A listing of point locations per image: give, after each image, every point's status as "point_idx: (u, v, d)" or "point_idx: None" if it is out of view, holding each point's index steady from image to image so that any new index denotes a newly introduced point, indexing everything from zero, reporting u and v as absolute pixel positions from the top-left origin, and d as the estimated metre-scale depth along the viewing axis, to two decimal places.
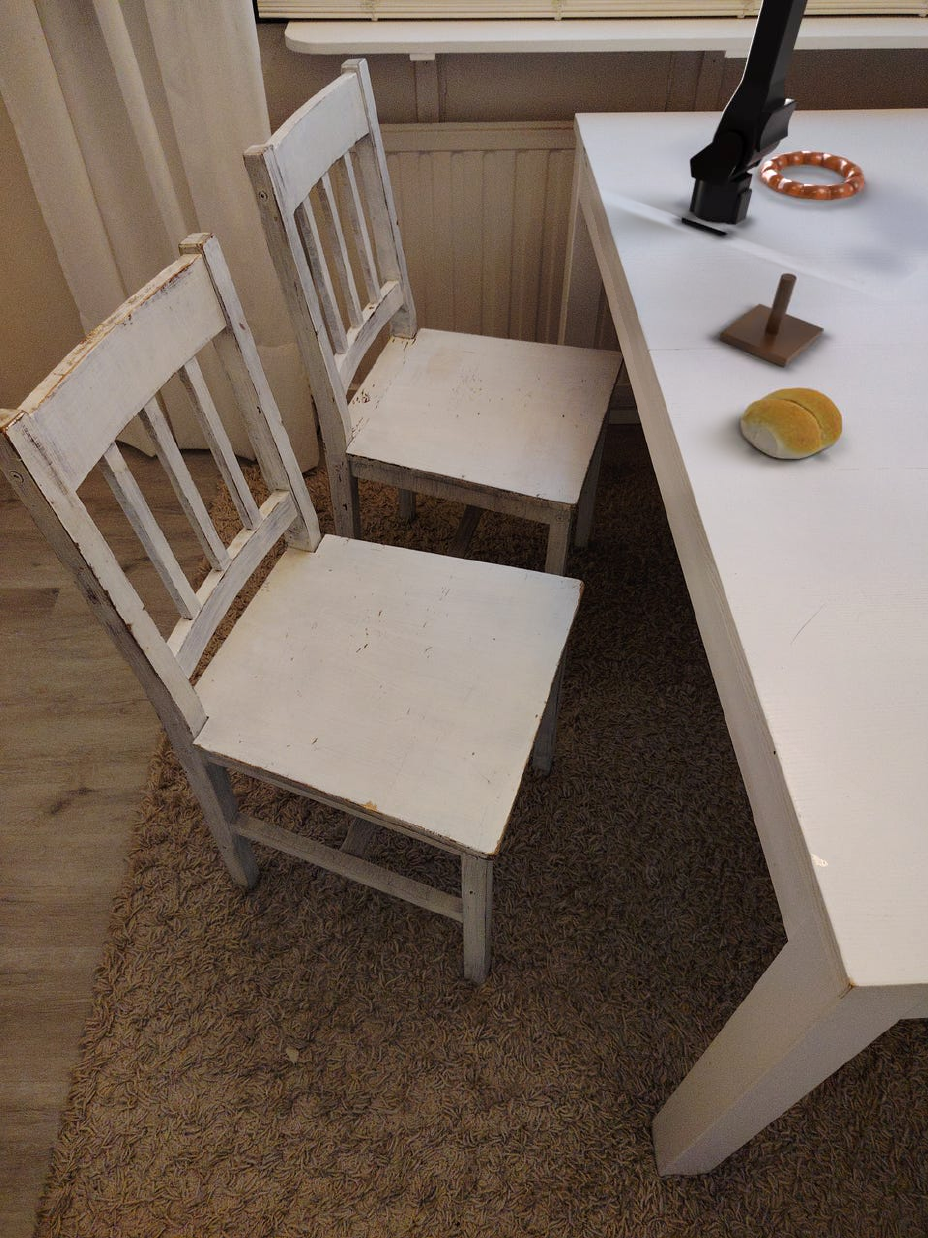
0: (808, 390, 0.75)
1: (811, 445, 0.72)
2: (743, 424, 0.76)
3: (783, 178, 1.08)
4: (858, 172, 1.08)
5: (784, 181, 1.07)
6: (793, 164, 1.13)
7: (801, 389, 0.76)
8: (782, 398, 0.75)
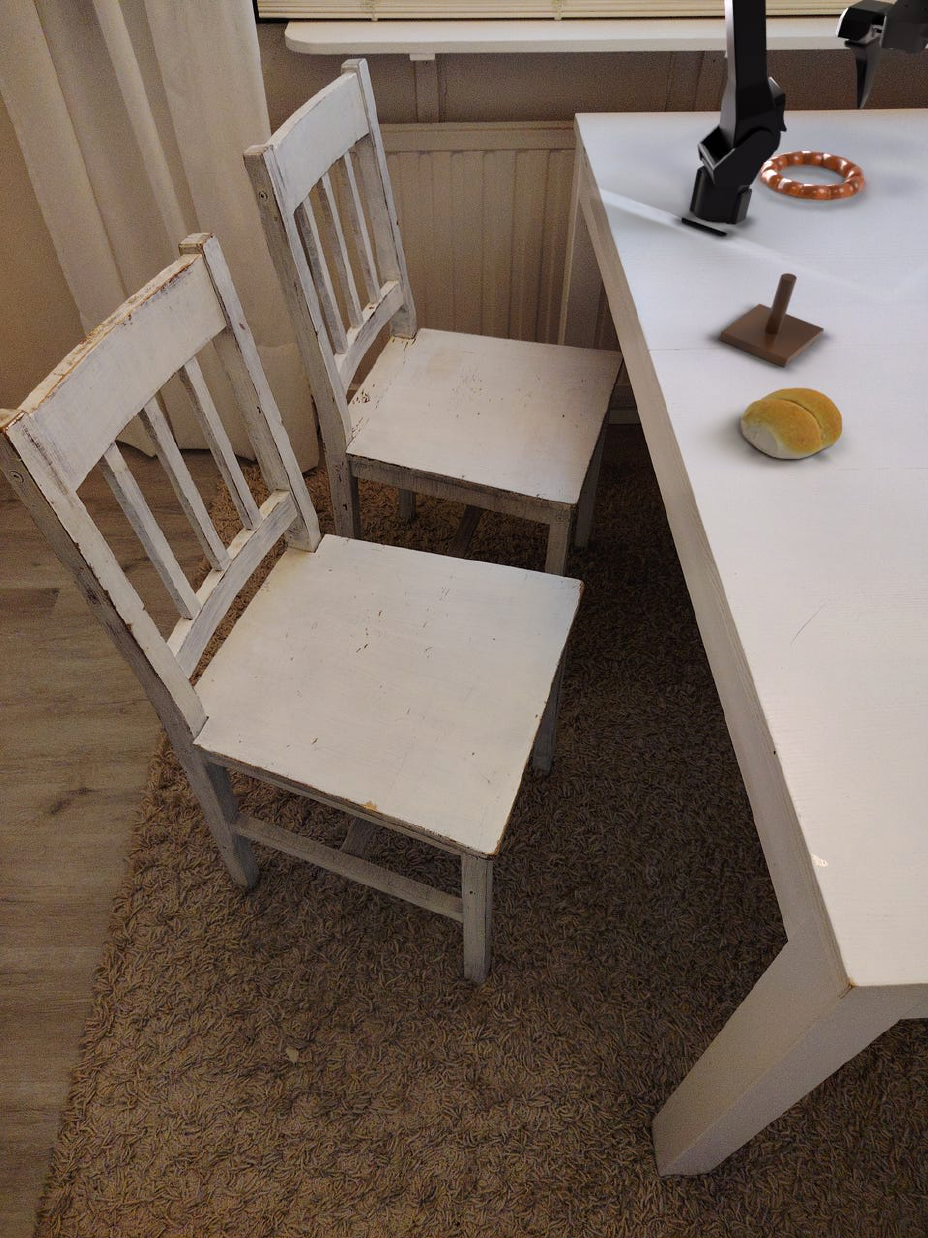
0: (808, 390, 0.75)
1: (811, 445, 0.72)
2: (743, 424, 0.76)
3: (783, 178, 1.08)
4: (858, 172, 1.08)
5: (784, 181, 1.07)
6: (793, 164, 1.13)
7: (801, 389, 0.76)
8: (782, 398, 0.75)
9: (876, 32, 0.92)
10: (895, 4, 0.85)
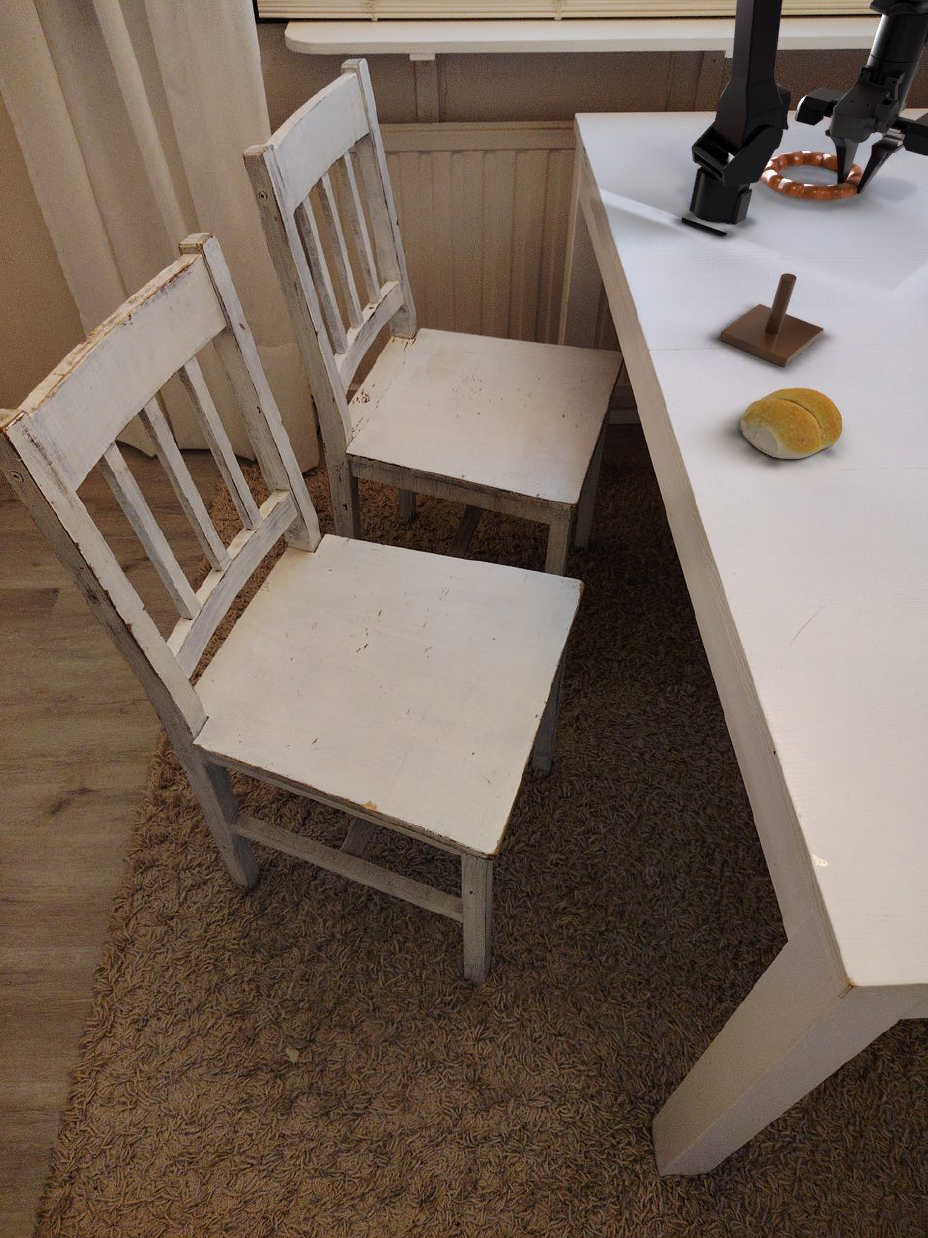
0: (808, 390, 0.75)
1: (811, 445, 0.72)
2: (743, 424, 0.76)
3: (783, 178, 1.08)
4: (858, 172, 1.08)
5: (784, 181, 1.07)
6: (793, 164, 1.13)
7: (801, 389, 0.76)
8: (782, 398, 0.75)
9: None
10: (842, 99, 0.97)
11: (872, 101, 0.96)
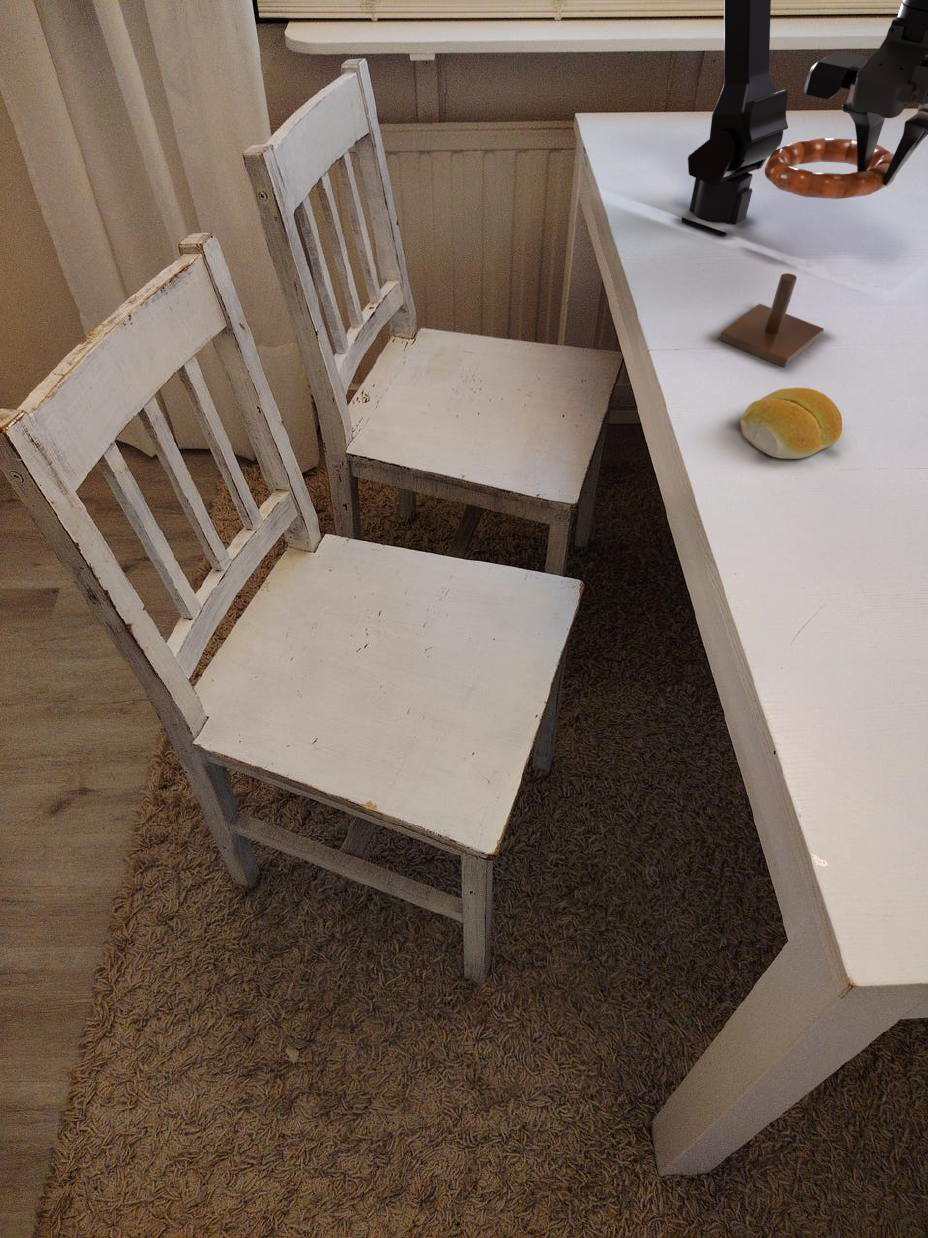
0: (808, 390, 0.75)
1: (811, 445, 0.72)
2: (743, 424, 0.76)
3: (788, 166, 0.88)
4: (888, 159, 0.87)
5: (789, 169, 0.87)
6: (812, 153, 0.93)
7: (801, 389, 0.76)
8: (782, 398, 0.75)
9: None
10: (868, 62, 0.75)
11: (907, 63, 0.74)
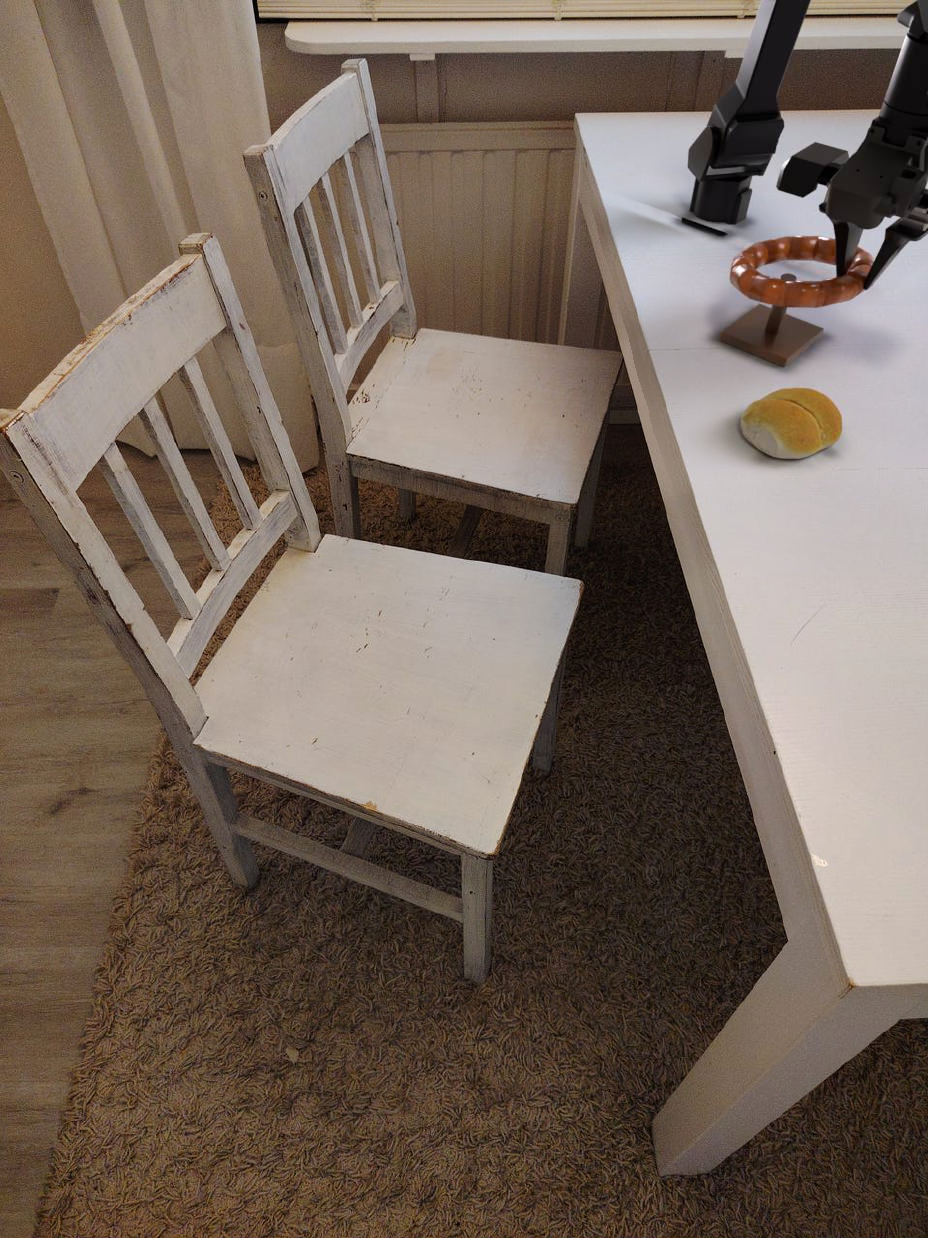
0: (808, 390, 0.75)
1: (811, 445, 0.72)
2: (743, 424, 0.76)
3: (758, 275, 0.79)
4: (865, 260, 0.78)
5: (759, 279, 0.78)
6: (776, 254, 0.84)
7: (801, 389, 0.76)
8: (782, 398, 0.75)
9: None
10: (844, 167, 0.67)
11: (887, 171, 0.65)
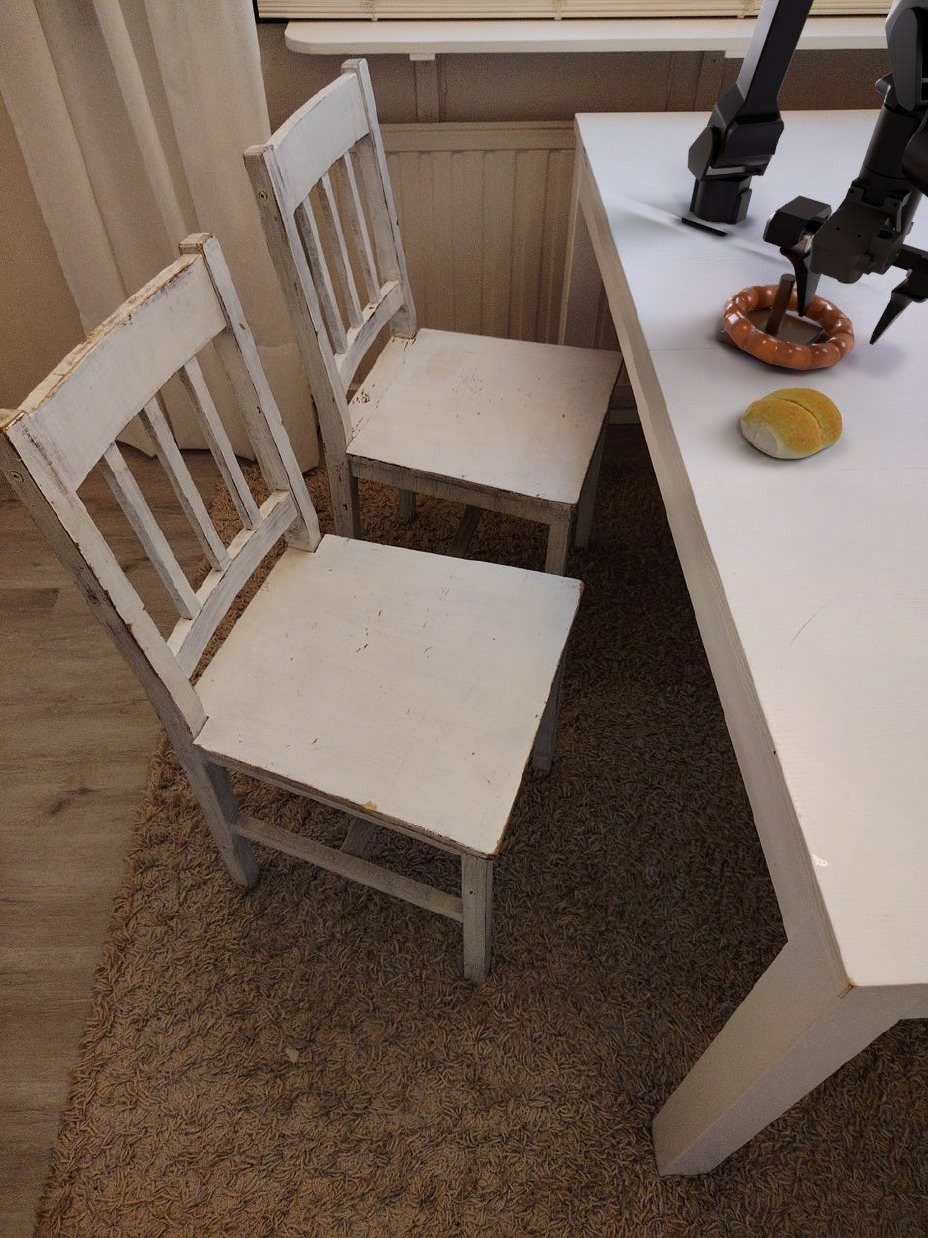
0: (808, 390, 0.75)
1: (811, 445, 0.72)
2: (743, 424, 0.76)
3: (752, 328, 0.82)
4: (847, 327, 0.84)
5: (753, 333, 0.82)
6: (765, 302, 0.88)
7: (801, 389, 0.76)
8: (782, 398, 0.75)
9: None
10: (825, 225, 0.70)
11: (865, 230, 0.69)
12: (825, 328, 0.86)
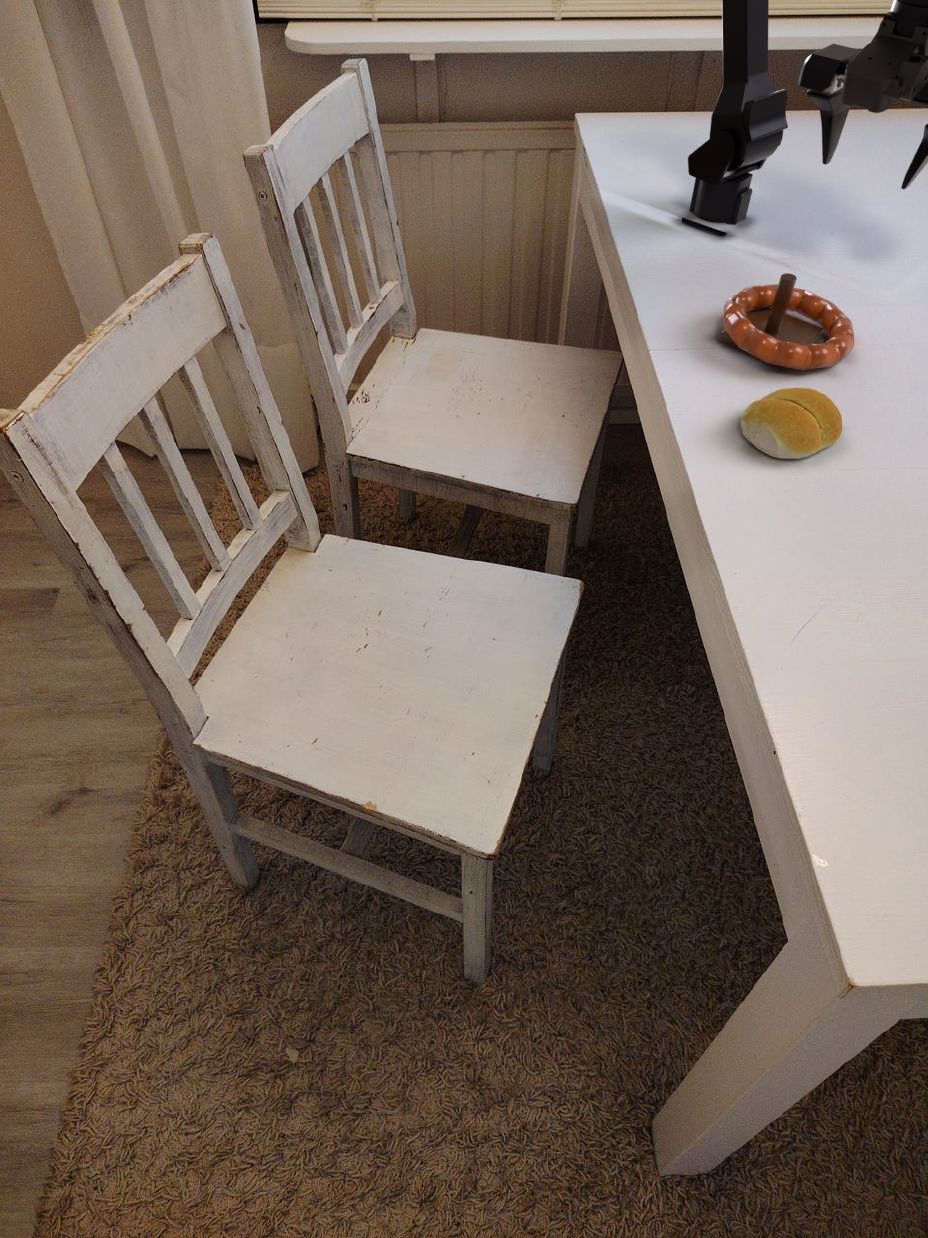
0: (808, 390, 0.75)
1: (811, 445, 0.72)
2: (743, 424, 0.76)
3: (752, 328, 0.82)
4: (847, 327, 0.84)
5: (753, 333, 0.82)
6: (765, 302, 0.88)
7: (801, 389, 0.76)
8: (782, 398, 0.75)
9: (842, 82, 0.83)
10: (858, 56, 0.76)
11: (896, 58, 0.74)
12: (825, 328, 0.86)
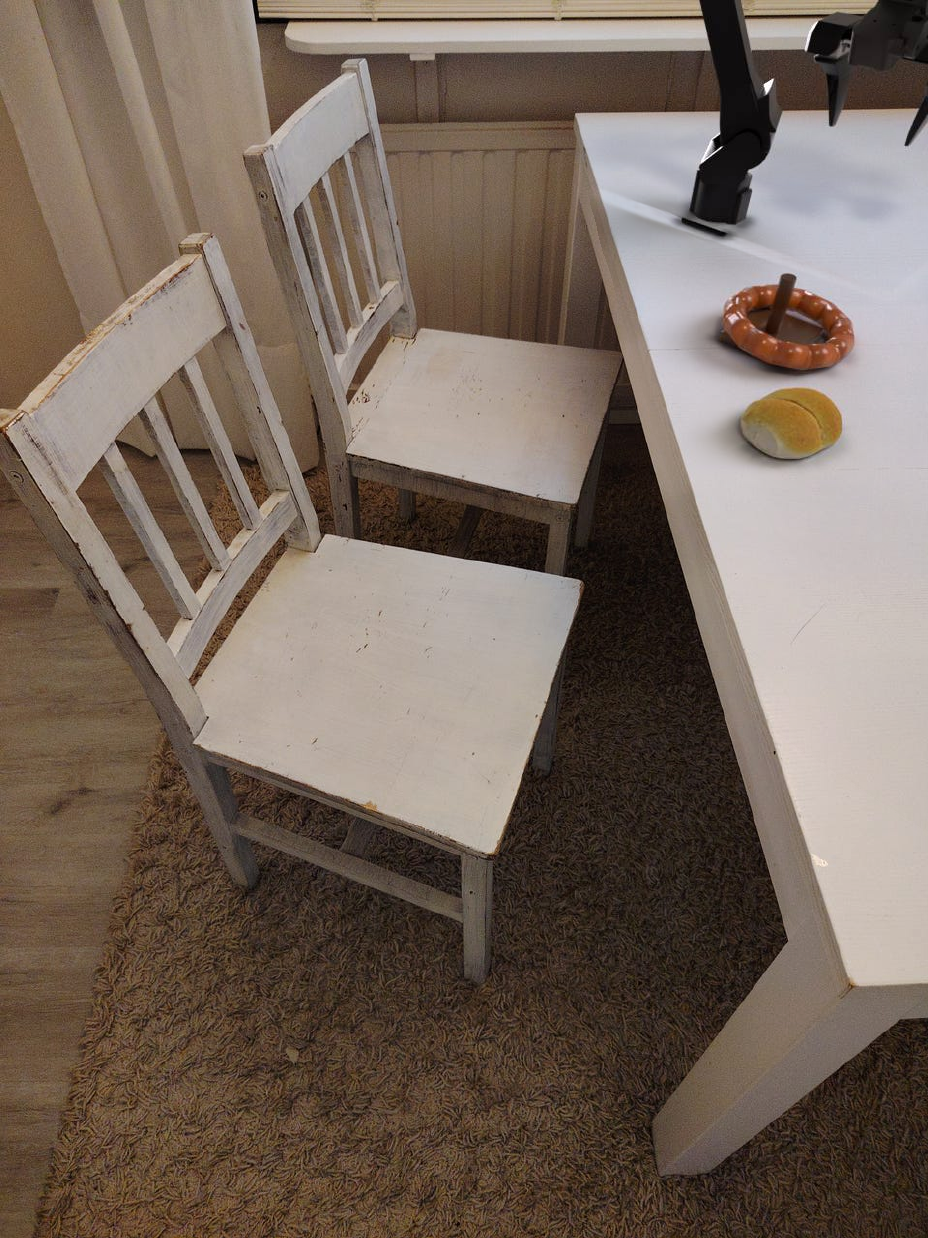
0: (808, 390, 0.75)
1: (811, 445, 0.72)
2: (743, 424, 0.76)
3: (752, 328, 0.82)
4: (847, 327, 0.84)
5: (753, 333, 0.82)
6: (765, 302, 0.88)
7: (801, 389, 0.76)
8: (782, 398, 0.75)
9: (847, 47, 0.88)
10: (863, 19, 0.81)
11: (899, 19, 0.80)
12: (825, 328, 0.86)
